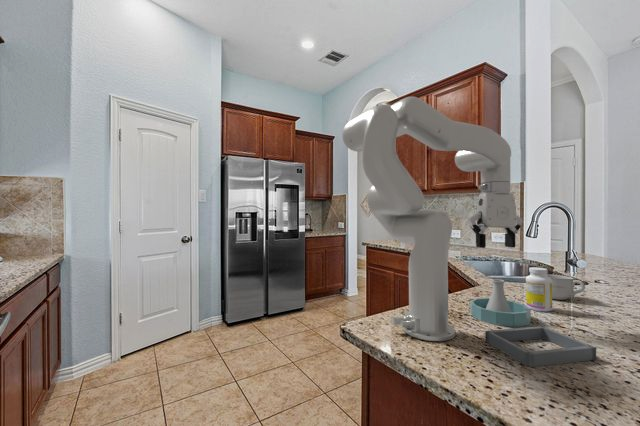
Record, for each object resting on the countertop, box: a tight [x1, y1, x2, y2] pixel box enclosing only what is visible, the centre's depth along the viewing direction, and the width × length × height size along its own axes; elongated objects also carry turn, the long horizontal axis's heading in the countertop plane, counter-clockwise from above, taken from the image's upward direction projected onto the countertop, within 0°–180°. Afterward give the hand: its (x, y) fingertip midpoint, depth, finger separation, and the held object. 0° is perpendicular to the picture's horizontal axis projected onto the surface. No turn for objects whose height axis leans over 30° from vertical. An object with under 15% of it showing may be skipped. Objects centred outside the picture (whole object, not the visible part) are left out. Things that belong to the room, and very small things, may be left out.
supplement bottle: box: [525, 266, 553, 313], centre depth 94 cm, size 7×7×13 cm
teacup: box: [547, 273, 586, 301], centre depth 104 cm, size 14×11×8 cm
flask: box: [486, 278, 512, 313], centre depth 86 cm, size 7×7×10 cm
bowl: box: [469, 297, 532, 328], centre depth 86 cm, size 15×15×4 cm
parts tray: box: [484, 325, 597, 368], centre depth 65 cm, size 16×12×2 cm
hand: (495, 247), depth 87 cm, fingers open, 9 cm apart
